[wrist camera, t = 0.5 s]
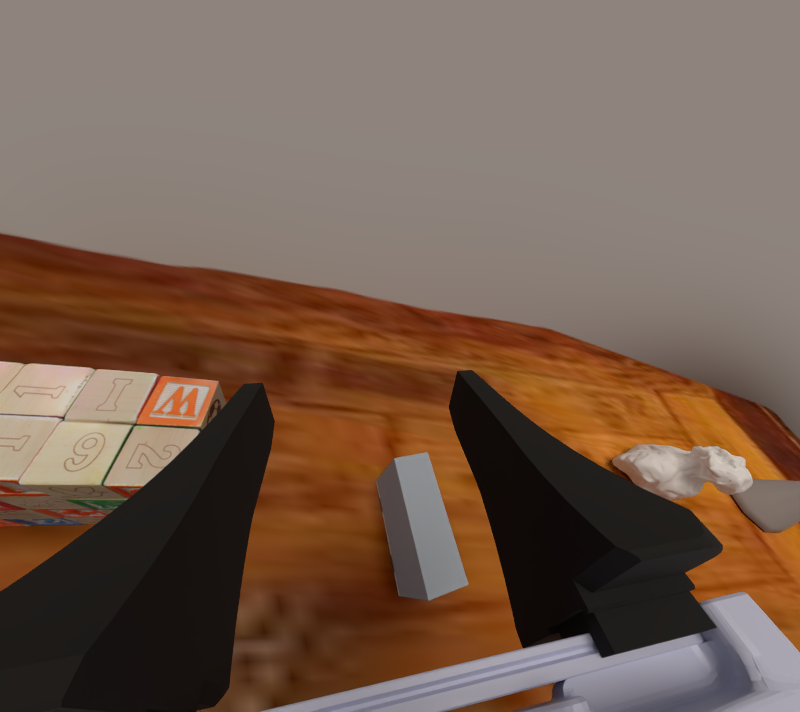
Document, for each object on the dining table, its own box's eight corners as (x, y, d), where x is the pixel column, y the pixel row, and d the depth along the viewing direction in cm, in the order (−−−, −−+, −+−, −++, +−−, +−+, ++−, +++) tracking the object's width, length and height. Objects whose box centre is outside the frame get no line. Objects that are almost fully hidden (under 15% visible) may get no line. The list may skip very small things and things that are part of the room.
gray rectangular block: (431, 583, 24) (468, 584, 19) (398, 595, 23) (428, 600, 18) (404, 475, 29) (427, 452, 24) (376, 481, 28) (394, 458, 23)
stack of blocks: (-156, 531, 18) (-658, 479, 8) (-62, 435, 22) (-337, 325, 12) (225, 524, 23) (177, 487, 14) (247, 448, 27) (220, 378, 17)
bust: (594, 483, 38) (706, 537, 27) (599, 426, 38) (713, 457, 27) (658, 480, 41) (781, 527, 30) (663, 428, 41) (787, 456, 30)
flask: (738, 471, 43) (831, 449, 36) (786, 523, 40) (901, 510, 32) (717, 485, 41) (813, 463, 33) (766, 542, 37) (887, 533, 29)
